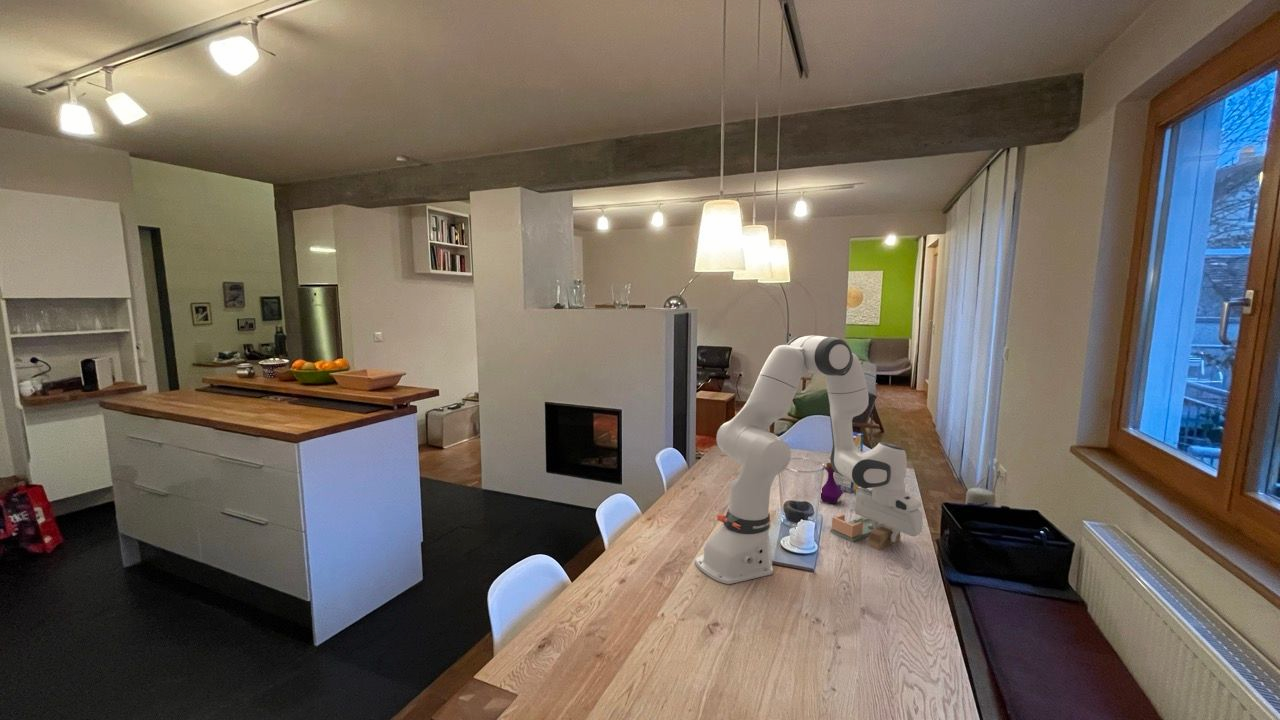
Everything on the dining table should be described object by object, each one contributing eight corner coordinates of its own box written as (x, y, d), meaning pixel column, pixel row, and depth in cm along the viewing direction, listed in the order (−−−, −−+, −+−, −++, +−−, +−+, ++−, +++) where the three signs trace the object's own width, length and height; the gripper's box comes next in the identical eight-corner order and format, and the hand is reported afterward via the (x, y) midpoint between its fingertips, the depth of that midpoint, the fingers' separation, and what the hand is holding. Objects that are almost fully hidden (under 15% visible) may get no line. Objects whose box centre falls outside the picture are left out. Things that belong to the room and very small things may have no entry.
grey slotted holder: (852, 542, 152) (853, 526, 151) (830, 531, 159) (831, 517, 158) (888, 526, 163) (889, 512, 162) (866, 517, 169) (867, 504, 169)
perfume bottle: (837, 506, 179) (840, 459, 177) (816, 501, 183) (819, 455, 181) (842, 500, 185) (845, 454, 182) (822, 495, 189) (825, 450, 187)
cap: (851, 537, 152) (852, 526, 152) (831, 528, 158) (832, 517, 158) (862, 533, 155) (863, 522, 155) (842, 524, 161) (842, 513, 161)
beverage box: (833, 488, 196) (836, 435, 193) (843, 481, 204) (846, 430, 202) (850, 493, 191) (854, 438, 189) (860, 486, 200) (863, 433, 197)
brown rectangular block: (877, 549, 147) (878, 535, 147) (868, 545, 150) (869, 531, 149) (899, 540, 154) (900, 526, 153) (890, 536, 156) (891, 522, 156)
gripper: (851, 486, 157) (848, 527, 158) (915, 508, 140) (912, 554, 141) (862, 482, 160) (859, 522, 162) (927, 504, 143) (923, 548, 145)
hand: (884, 537), depth 151 cm, fingers closed on brown rectangular block, 3 cm apart
